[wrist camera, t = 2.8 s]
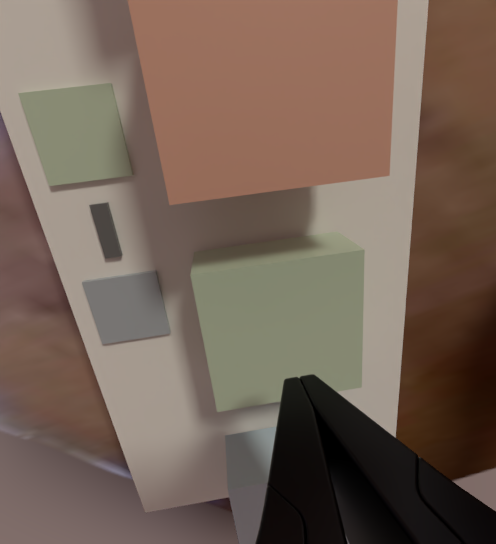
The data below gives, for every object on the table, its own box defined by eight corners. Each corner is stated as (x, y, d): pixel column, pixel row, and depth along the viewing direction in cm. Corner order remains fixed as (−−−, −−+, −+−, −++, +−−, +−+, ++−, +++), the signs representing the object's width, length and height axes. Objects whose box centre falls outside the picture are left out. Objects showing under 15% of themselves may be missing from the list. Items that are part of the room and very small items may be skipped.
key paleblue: (350, 413, 14) (376, 462, 12) (349, 497, 16) (371, 552, 14) (225, 435, 14) (227, 490, 12) (240, 518, 16) (245, 577, 14)
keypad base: (395, -354, 10) (478, -578, 7) (369, 424, 21) (395, 469, 18) (-99, -337, 9) (-257, -584, 6) (154, 462, 20) (144, 516, 17)
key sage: (337, 231, 13) (364, 249, 10) (338, 350, 15) (361, 387, 12) (194, 251, 12) (190, 275, 10) (216, 370, 14) (217, 412, 12)
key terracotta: (352, -55, 8) (403, -128, 6) (351, 169, 10) (389, 175, 8) (134, -36, 8) (106, -105, 6) (178, 192, 10) (169, 205, 8)
